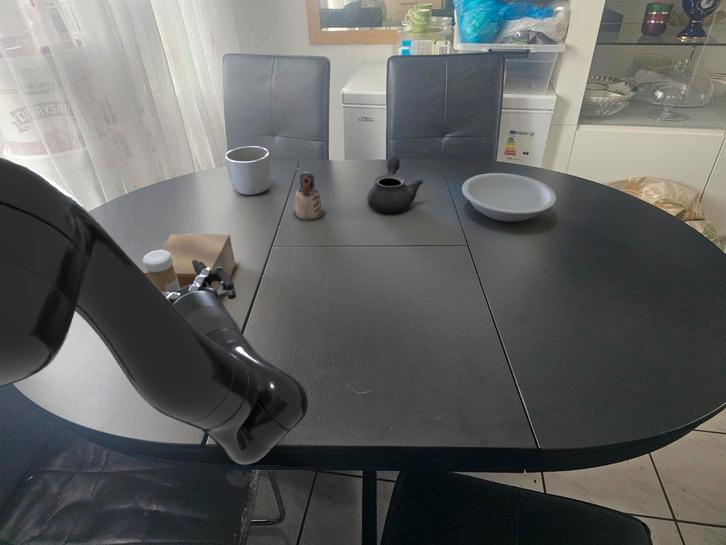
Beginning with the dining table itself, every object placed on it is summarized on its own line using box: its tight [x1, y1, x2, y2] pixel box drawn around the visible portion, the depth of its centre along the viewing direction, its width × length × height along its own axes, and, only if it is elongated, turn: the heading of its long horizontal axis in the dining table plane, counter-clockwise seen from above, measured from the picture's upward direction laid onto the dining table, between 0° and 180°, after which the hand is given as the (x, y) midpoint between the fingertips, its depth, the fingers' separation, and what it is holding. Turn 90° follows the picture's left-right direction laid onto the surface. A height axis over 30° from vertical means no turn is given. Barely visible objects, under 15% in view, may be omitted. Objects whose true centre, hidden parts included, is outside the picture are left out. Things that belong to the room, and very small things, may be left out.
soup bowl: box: [461, 172, 557, 223], centre depth 120 cm, size 24×24×7 cm
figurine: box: [294, 171, 323, 221], centre depth 118 cm, size 7×7×12 cm
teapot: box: [366, 156, 424, 213], centre depth 125 cm, size 19×15×10 cm
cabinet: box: [143, 233, 237, 302], centre depth 93 cm, size 15×13×8 cm
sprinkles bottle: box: [142, 249, 180, 293], centre depth 81 cm, size 5×5×14 cm
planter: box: [224, 146, 272, 196], centre depth 131 cm, size 12×12×11 cm
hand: (168, 273), depth 70 cm, fingers open, 8 cm apart
